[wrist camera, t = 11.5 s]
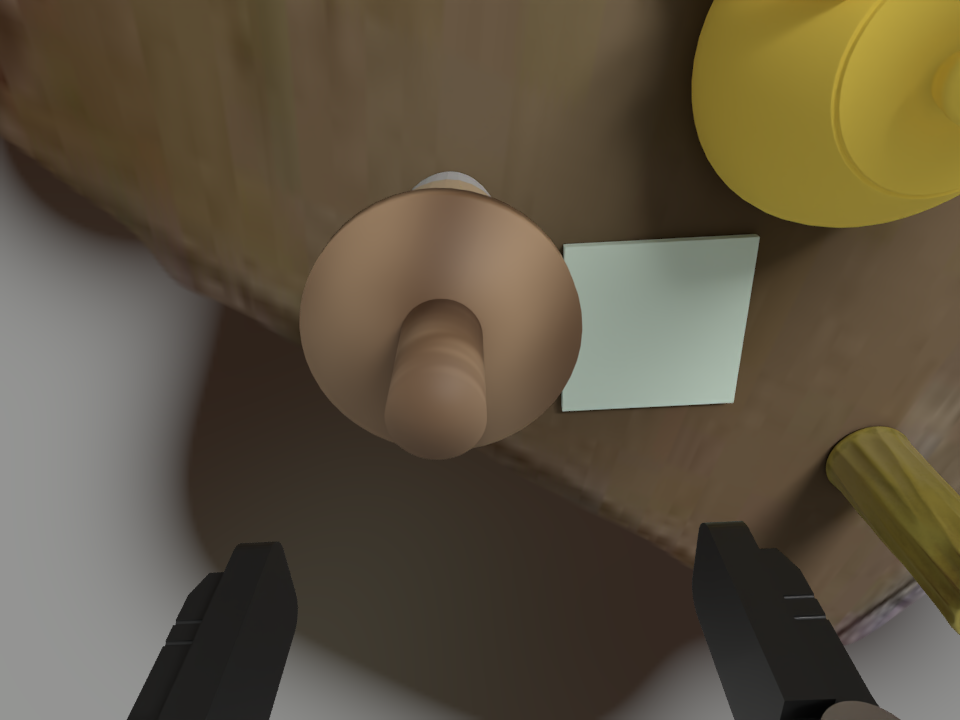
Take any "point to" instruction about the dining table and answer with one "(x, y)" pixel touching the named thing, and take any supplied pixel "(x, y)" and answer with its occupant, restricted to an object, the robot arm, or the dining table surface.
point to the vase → (904, 508)
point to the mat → (659, 320)
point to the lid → (441, 321)
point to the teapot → (832, 106)
